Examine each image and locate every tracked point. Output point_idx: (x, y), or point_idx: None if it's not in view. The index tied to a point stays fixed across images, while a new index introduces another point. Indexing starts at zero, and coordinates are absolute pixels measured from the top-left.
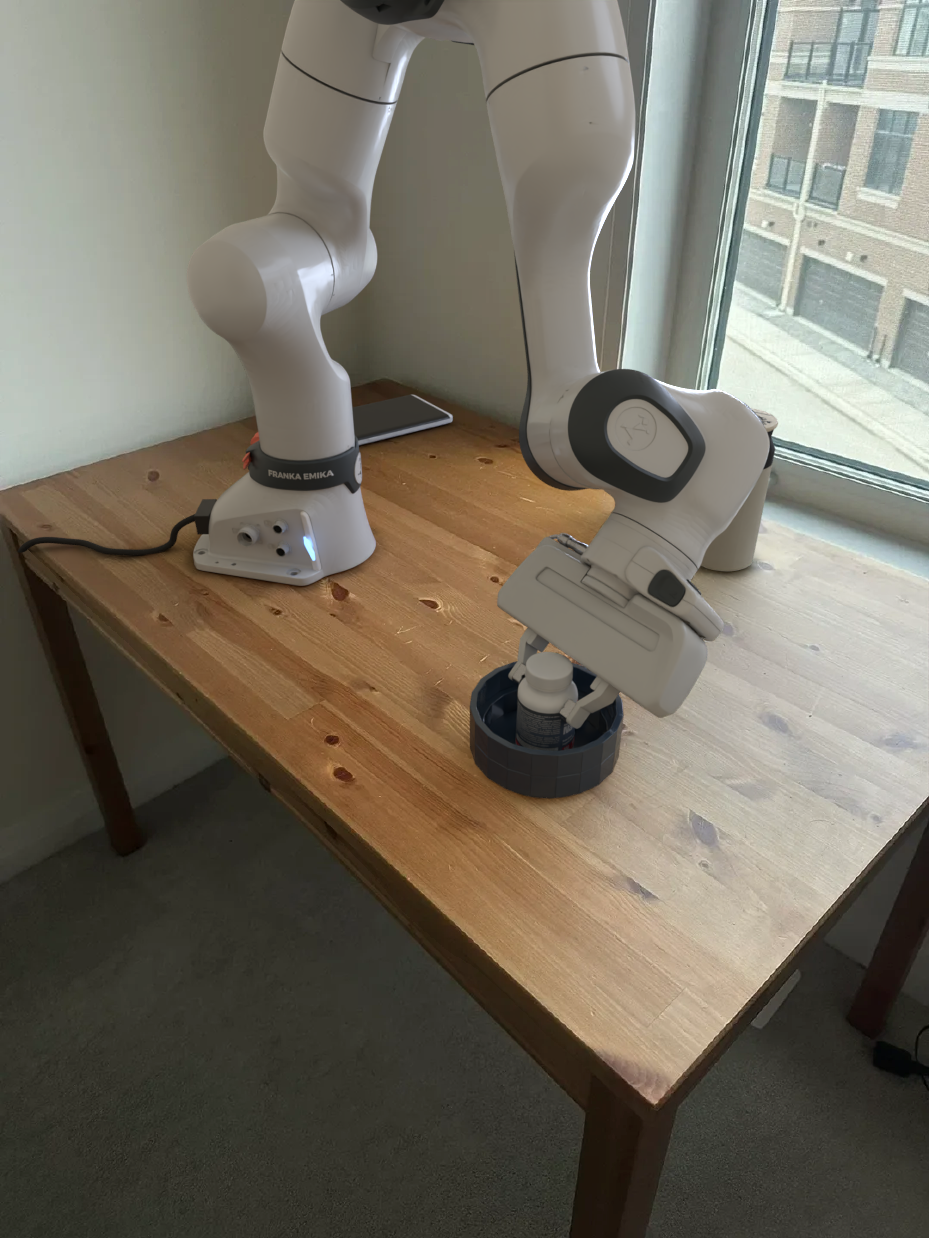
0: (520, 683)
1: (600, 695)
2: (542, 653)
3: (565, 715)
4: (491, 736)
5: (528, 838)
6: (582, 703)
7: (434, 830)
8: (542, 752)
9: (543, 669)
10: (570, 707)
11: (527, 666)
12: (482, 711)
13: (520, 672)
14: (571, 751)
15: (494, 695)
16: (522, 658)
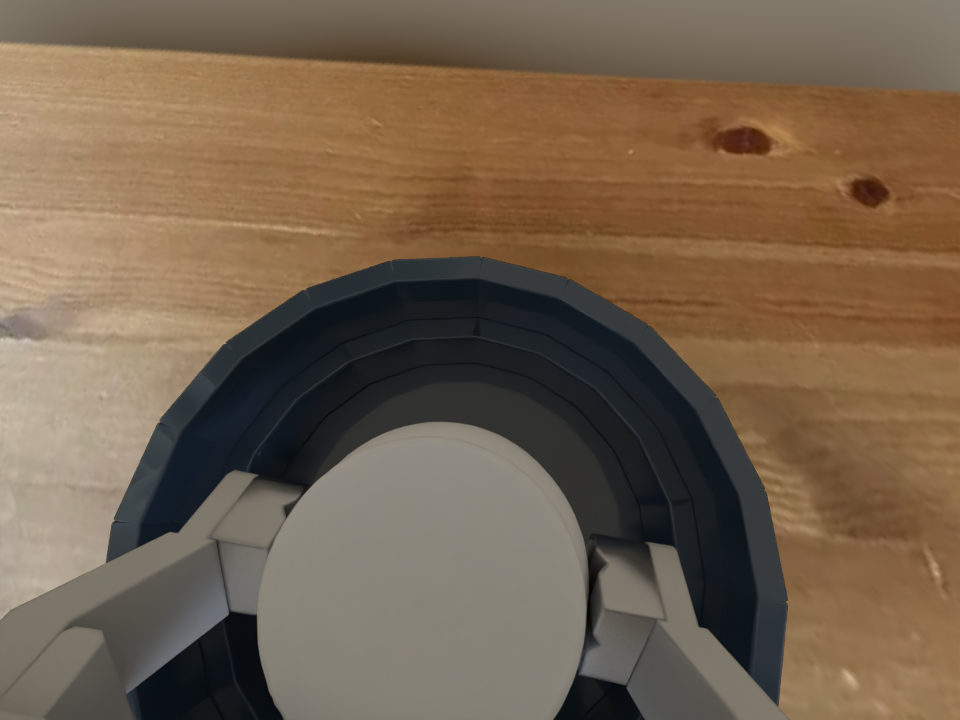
0: (560, 500)
1: (17, 613)
2: (549, 685)
3: (265, 483)
4: (471, 262)
5: (293, 275)
6: (166, 545)
7: (468, 162)
8: (278, 317)
9: (420, 528)
10: (245, 515)
11: (517, 475)
12: (657, 446)
13: (624, 571)
14: (194, 392)
15: (700, 551)
16: (682, 642)
